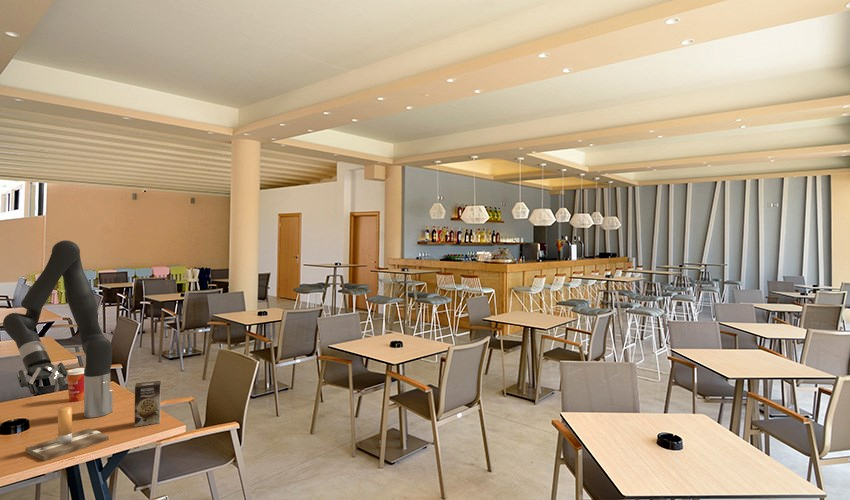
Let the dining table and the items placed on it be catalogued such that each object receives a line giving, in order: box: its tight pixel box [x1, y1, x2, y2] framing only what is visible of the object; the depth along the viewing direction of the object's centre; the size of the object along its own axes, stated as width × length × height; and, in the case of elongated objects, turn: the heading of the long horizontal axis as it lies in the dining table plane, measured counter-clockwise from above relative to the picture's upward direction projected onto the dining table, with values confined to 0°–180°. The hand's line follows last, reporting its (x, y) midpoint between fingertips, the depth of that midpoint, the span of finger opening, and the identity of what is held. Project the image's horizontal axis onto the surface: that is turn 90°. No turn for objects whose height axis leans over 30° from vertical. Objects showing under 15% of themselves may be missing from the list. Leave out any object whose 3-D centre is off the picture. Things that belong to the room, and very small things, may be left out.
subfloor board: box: [24, 427, 109, 462], centre depth 170 cm, size 20×14×2 cm
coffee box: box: [133, 380, 162, 428], centre depth 192 cm, size 9×6×16 cm
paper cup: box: [66, 367, 85, 403], centre depth 220 cm, size 8×8×14 cm
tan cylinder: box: [57, 406, 73, 444], centre depth 169 cm, size 4×4×12 cm
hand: (49, 390), depth 175 cm, fingers open, 8 cm apart
